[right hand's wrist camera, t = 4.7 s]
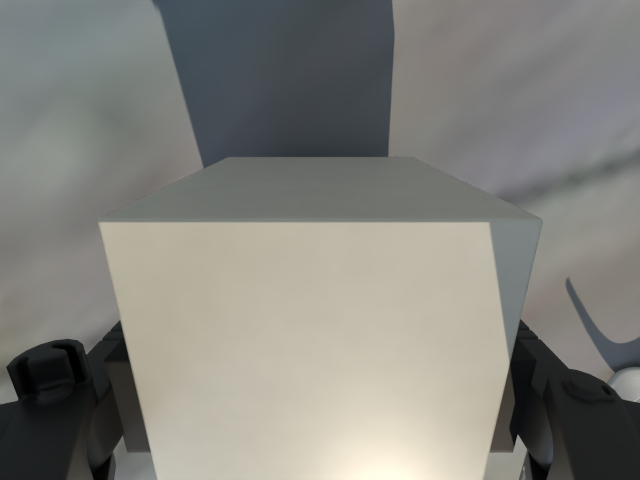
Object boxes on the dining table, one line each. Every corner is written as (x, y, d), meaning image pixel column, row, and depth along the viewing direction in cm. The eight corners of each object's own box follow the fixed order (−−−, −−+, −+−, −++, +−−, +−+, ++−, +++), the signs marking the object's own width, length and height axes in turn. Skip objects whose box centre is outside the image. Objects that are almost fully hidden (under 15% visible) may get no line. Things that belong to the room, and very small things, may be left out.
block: (243, 341, 18) (172, 552, 9) (226, 156, 14) (94, 218, 6) (396, 341, 18) (467, 552, 9) (413, 156, 14) (546, 217, 6)
